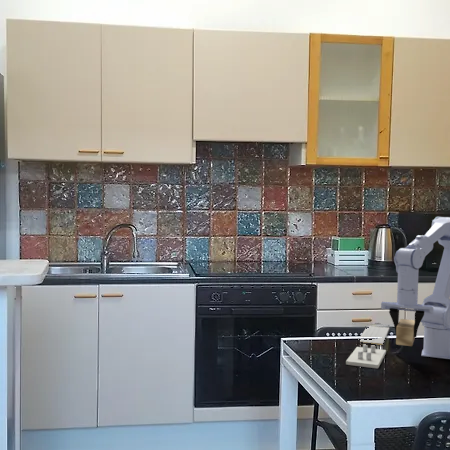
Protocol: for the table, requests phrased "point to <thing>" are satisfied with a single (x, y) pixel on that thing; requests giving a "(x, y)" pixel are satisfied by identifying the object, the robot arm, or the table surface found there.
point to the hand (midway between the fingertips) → (406, 335)
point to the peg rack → (366, 357)
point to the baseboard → (375, 334)
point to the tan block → (405, 332)
